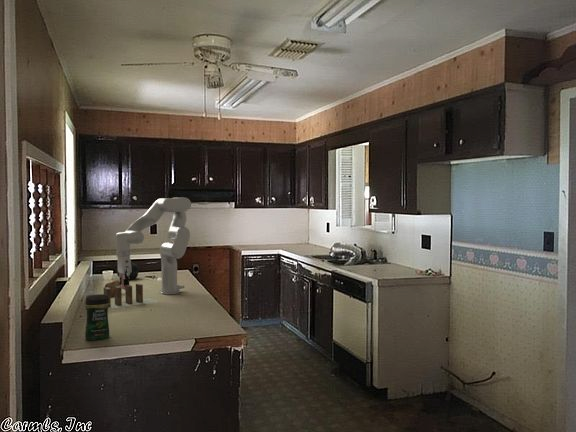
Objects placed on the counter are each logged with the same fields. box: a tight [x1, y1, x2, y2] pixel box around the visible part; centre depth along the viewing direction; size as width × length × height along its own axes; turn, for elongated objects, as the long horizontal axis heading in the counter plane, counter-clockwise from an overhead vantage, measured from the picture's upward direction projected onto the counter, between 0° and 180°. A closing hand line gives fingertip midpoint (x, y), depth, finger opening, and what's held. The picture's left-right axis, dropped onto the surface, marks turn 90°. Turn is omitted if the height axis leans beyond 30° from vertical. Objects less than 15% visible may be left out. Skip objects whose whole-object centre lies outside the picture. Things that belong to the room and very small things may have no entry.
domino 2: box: [114, 286, 123, 306], centre depth 268 cm, size 2×5×10 cm, turn 39°
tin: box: [103, 280, 122, 297], centre depth 297 cm, size 15×3×8 cm, turn 168°
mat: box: [108, 297, 160, 310], centre depth 271 cm, size 32×12×1 cm, turn 129°
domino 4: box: [124, 284, 133, 304], centre depth 272 cm, size 2×5×10 cm, turn 39°
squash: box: [116, 260, 139, 281], centre depth 354 cm, size 14×15×15 cm
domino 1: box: [103, 286, 112, 307], centre depth 264 cm, size 2×5×10 cm, turn 39°
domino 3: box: [121, 272, 127, 291], centre depth 282 cm, size 2×5×10 cm, turn 39°
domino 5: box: [135, 283, 144, 303], centre depth 276 cm, size 2×5×10 cm, turn 39°
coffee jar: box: [84, 293, 110, 341], centre depth 207 cm, size 10×8×19 cm
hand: (124, 284), depth 283 cm, fingers closed on domino 3, 4 cm apart
